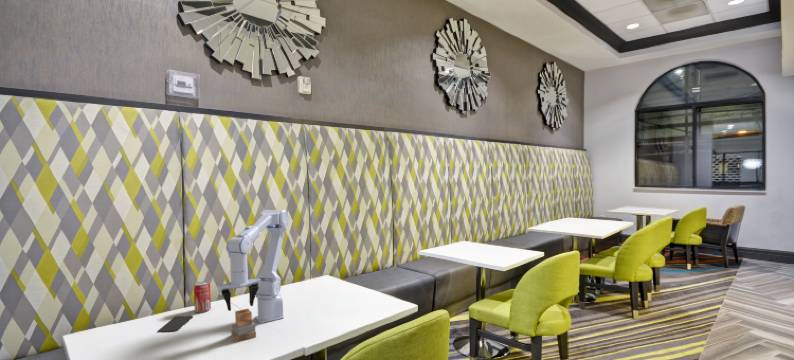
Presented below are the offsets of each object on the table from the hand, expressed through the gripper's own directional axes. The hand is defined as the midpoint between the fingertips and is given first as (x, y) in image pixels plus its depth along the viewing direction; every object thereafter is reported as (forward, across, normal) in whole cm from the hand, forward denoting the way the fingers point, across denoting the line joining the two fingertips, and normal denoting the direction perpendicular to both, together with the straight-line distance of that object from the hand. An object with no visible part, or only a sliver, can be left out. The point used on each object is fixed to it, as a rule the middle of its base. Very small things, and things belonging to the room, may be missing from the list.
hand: (240, 307), depth 143 cm
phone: (+11, -18, +27) cm, 34 cm away
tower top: (+8, +1, -1) cm, 8 cm away
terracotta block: (+6, +1, -1) cm, 6 cm away
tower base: (+11, 0, -1) cm, 11 cm away
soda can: (+11, -7, +37) cm, 39 cm away
